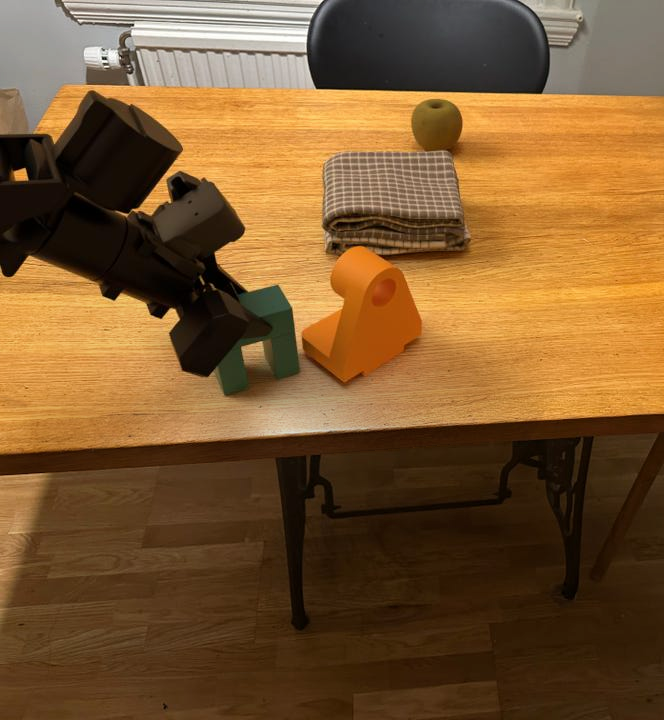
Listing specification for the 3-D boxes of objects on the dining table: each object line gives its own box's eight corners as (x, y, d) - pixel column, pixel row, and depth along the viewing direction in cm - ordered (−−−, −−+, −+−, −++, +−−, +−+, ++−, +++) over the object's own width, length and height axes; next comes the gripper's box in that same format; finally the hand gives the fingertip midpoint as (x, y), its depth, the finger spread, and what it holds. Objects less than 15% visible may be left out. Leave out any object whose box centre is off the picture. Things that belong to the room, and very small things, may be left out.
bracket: (376, 308, 79) (375, 217, 71) (421, 340, 76) (425, 248, 68) (299, 352, 73) (288, 257, 65) (344, 388, 70) (338, 293, 62)
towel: (323, 197, 95) (319, 144, 90) (455, 196, 99) (459, 145, 93) (324, 262, 85) (319, 206, 79) (472, 259, 88) (477, 205, 83)
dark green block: (224, 396, 68) (209, 330, 62) (213, 370, 70) (197, 304, 64) (300, 372, 71) (292, 307, 65) (286, 348, 73) (278, 283, 67)
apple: (400, 144, 109) (401, 99, 104) (441, 133, 113) (443, 89, 108) (430, 164, 105) (432, 119, 100) (470, 152, 109) (474, 108, 104)
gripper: (198, 230, 47) (355, 313, 59) (139, 116, 58) (282, 206, 71) (104, 348, 49) (275, 405, 61) (65, 217, 60) (216, 287, 73)
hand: (262, 318), depth 66 cm, fingers closed on dark green block, 4 cm apart
